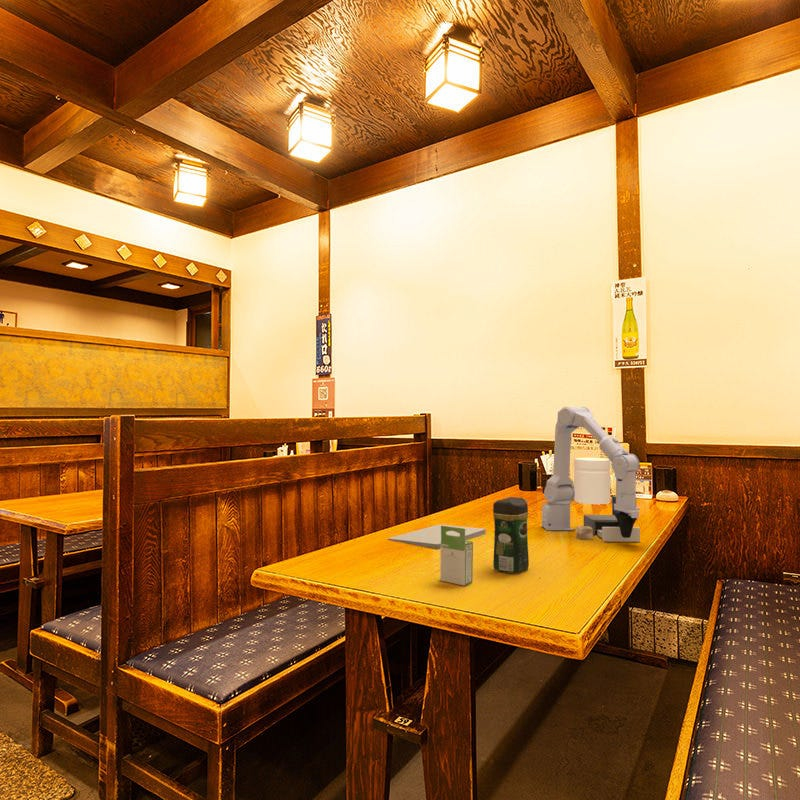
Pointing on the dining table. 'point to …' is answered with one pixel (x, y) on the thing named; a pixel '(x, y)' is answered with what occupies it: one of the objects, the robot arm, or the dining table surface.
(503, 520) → the coffee jar
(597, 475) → the canister
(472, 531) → the electronic device
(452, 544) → the ink box
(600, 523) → the block
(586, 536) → the pedestal
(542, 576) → the dining table surface
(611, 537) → the tray
